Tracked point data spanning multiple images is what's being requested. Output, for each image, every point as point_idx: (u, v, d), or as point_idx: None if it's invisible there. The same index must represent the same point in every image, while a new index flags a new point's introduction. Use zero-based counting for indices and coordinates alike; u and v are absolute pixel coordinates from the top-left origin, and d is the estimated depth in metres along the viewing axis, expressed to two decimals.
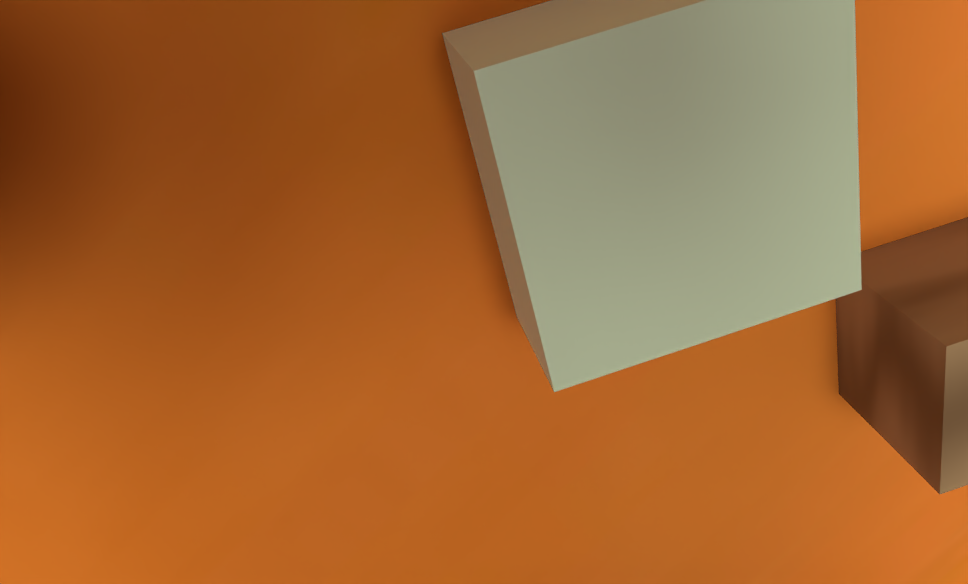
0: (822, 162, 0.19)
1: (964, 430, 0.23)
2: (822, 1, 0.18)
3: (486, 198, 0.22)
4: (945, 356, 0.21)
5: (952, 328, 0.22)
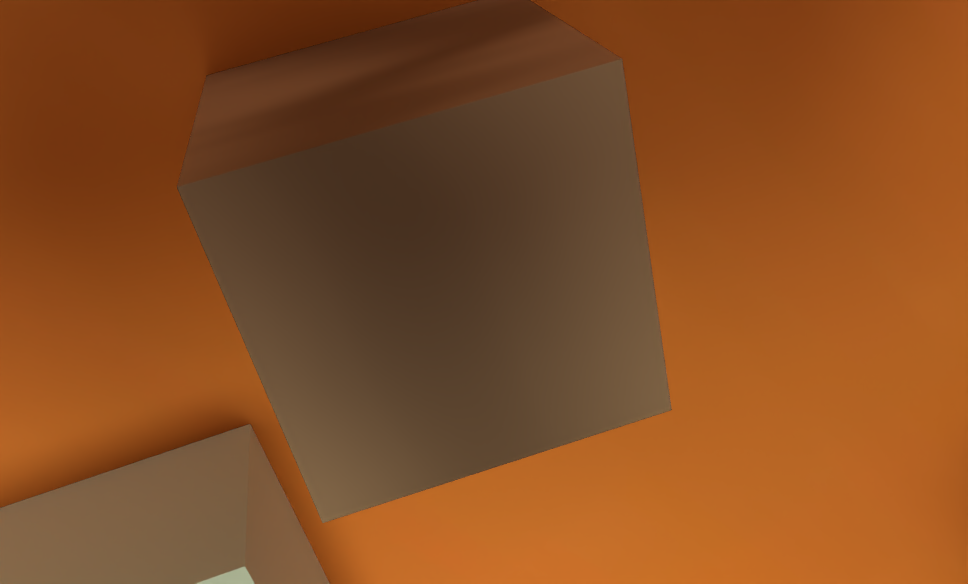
0: None
1: (524, 419, 0.12)
2: None
3: None
4: (345, 514, 0.12)
5: None
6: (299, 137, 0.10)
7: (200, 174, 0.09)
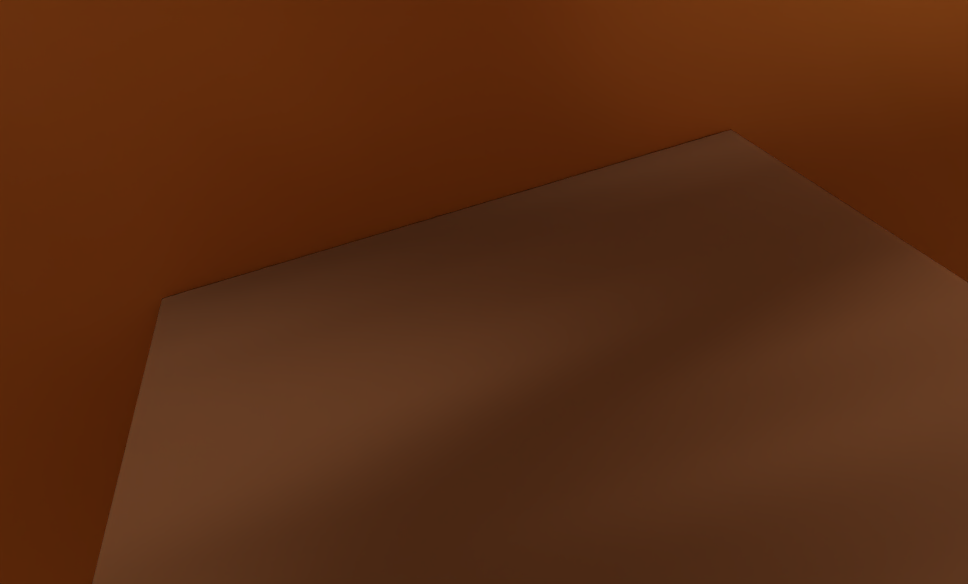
0: None
1: None
2: None
3: None
4: None
5: None
6: None
7: None
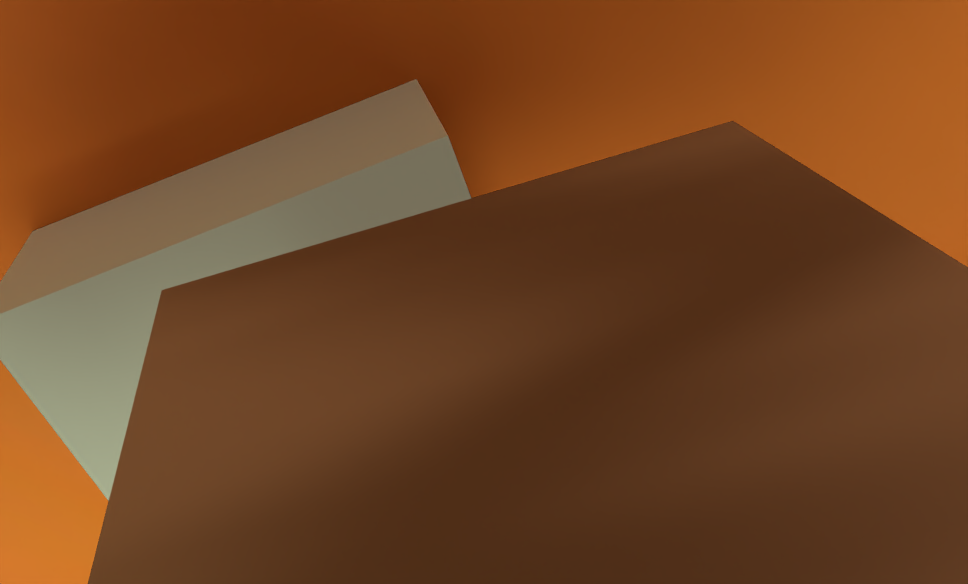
0: None
1: None
2: (42, 340, 0.14)
3: None
4: None
5: None
6: None
7: None
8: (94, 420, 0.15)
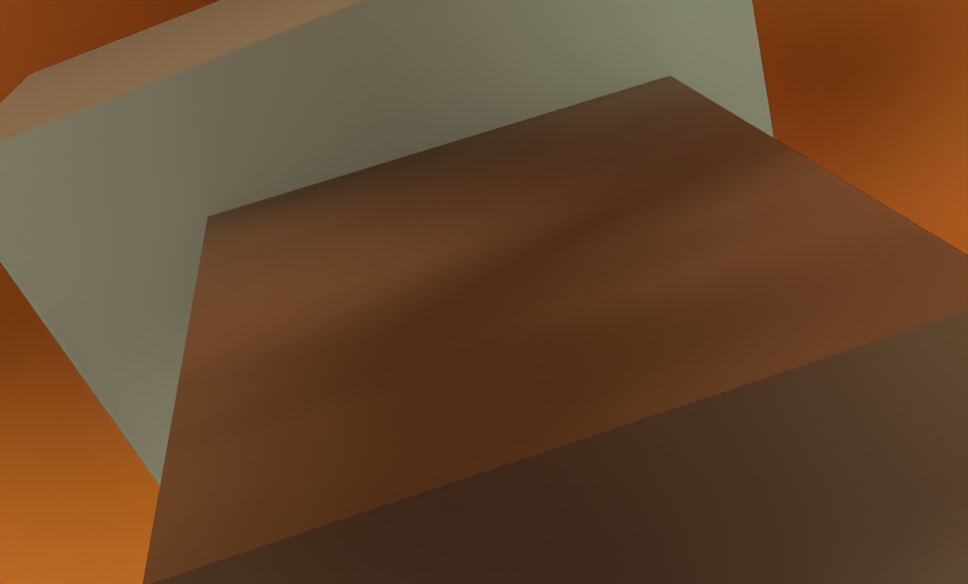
0: (398, 84, 0.09)
1: None
2: (50, 202, 0.08)
3: None
4: None
5: None
6: (384, 445, 0.05)
7: (191, 543, 0.05)
8: (131, 341, 0.09)
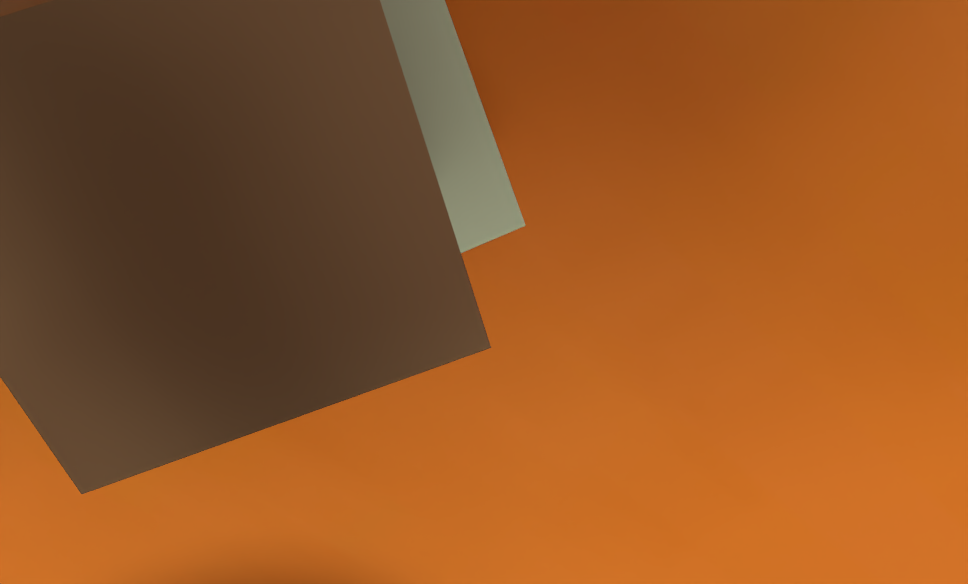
0: None
1: (309, 364, 0.10)
2: None
3: None
4: (108, 483, 0.10)
5: None
6: None
7: None
8: None
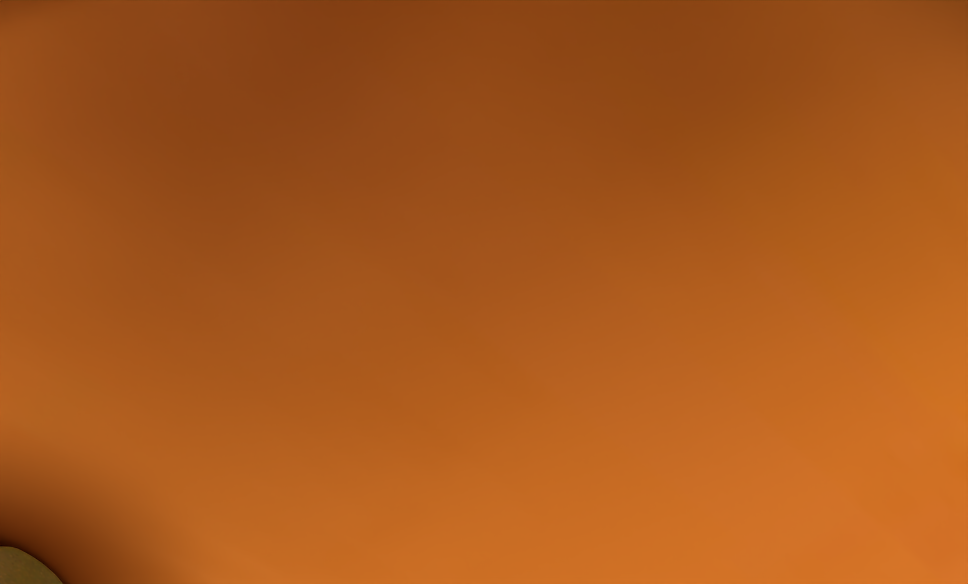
0: None
1: None
2: None
3: None
4: None
5: None
6: None
7: None
8: None
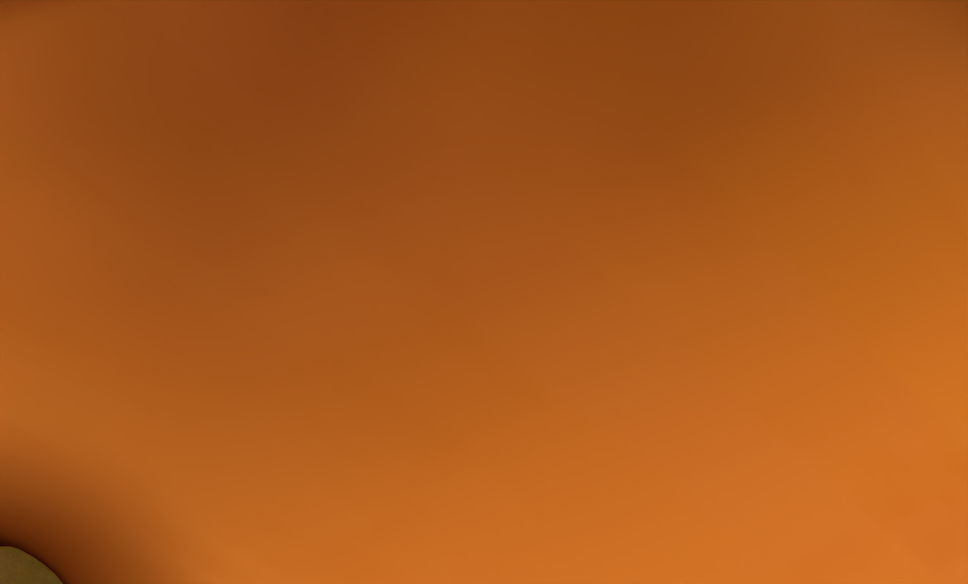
0: None
1: None
2: None
3: None
4: None
5: None
6: None
7: None
8: None
